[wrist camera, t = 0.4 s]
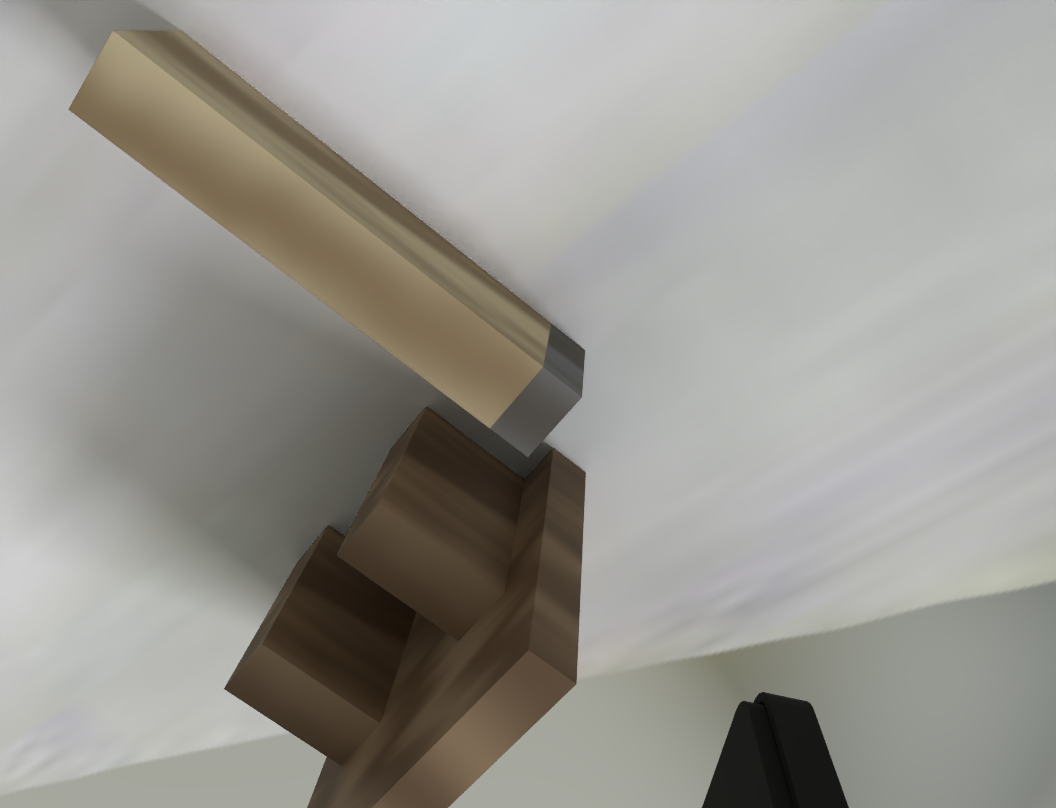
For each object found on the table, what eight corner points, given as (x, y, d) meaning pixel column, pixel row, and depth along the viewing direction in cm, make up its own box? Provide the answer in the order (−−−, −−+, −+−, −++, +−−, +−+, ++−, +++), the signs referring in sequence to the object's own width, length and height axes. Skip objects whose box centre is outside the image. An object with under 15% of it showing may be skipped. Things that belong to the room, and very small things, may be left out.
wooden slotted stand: (454, 372, 44) (378, 543, 30) (585, 472, 46) (576, 683, 31) (272, 592, 50) (131, 831, 35) (395, 676, 51) (309, 940, 36)
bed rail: (181, 30, 40) (113, 30, 34) (584, 350, 44) (581, 397, 38) (141, 98, 41) (68, 109, 35) (537, 404, 45) (527, 457, 39)
